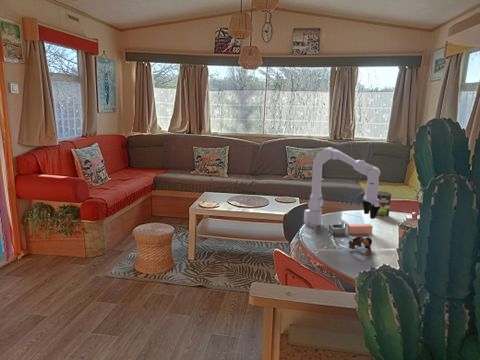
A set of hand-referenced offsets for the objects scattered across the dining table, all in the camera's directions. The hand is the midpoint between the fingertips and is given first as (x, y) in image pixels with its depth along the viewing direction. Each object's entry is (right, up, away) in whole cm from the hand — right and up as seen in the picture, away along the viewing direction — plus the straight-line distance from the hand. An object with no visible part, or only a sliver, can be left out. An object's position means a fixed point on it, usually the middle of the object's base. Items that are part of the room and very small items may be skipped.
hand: (369, 216), depth 184 cm
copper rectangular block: (-5, -9, +2) cm, 10 cm away
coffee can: (+19, -3, +33) cm, 38 cm away
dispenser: (-11, -10, +1) cm, 14 cm away
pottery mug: (-11, -15, -20) cm, 27 cm away
